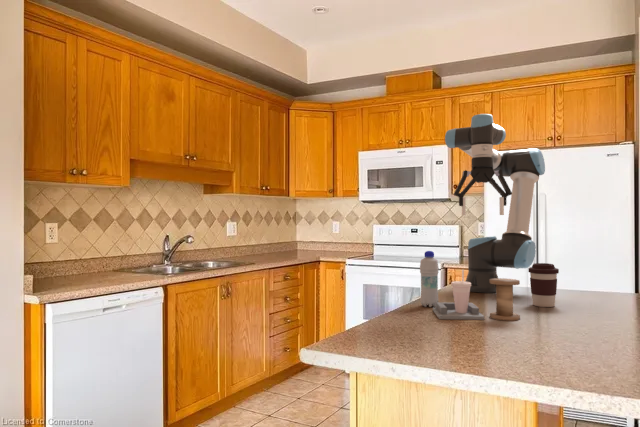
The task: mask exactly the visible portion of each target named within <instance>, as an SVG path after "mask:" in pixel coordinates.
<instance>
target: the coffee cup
mask: <svg viewBox="0 0 640 427" xmlns="http://www.w3.org/2000/svg"><path fill="white" fill-rule="evenodd" d="M527 269H528V273H530V277H529V282H530V284H529V285H530V293H531V298H532V300H531V301H532V305H533V306H535V307H540V308H553V307H555V305H556V295H557V287H558V277H557V276H558V274H559V273H560V272H559V270H560V269H559V268H557V267H555V264H553V263H546V262H545V263H544V262H541V263H539V262H536V263H534V262H533V263H532V264H531V266H530V267H528V268H527Z"/></svg>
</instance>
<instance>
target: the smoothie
mask: <svg viewBox="0 0 640 427" xmlns="http://www.w3.org/2000/svg"><path fill="white" fill-rule="evenodd" d="M464 277H465V269H461V280H456V281H451V283H450V285H451V287H452V294H453V300H454V303H455V310H456V312H457V313H467V311H468V303H470V302H469V301H470V292H471V291H470V286H471V283H470V282H465V281H466V280H465V279H464Z"/></svg>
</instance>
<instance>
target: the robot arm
mask: <svg viewBox="0 0 640 427" xmlns="http://www.w3.org/2000/svg"><path fill="white" fill-rule="evenodd" d="M506 136H507V134H506V130H505V129H504V128H503V127H502V126H501V125H499V124H495V123H494V118H493V115H492V114H490V113H480V114H475V115H473V116H472V117H471V123H470V126H467V127H465V126H464V127H460V128H459V127H458V128H452V129H447V131H446V132H445V136H444V142H445V145H446V147H447V148H449V149H456V148H458V149H459V150H461V151H462V152H464V153H465V154H467V155H468V156H470V157H471V170H466V169H465V170H463V171H462V176H461V179H460V180H459V182H458V184H457V186H456V188H455V189H454V190H455V191H454V192H453V196H455V197H458V206H459V207H461V216H466V214H467V213H466V197H464V196H465V195H466V194H467V193H468V191H469V190H470V189H471V188H472V187H473V185H474V184H476V183H478V184H479V183H485V184H487V183H489V184H491V186H492V187H493V188H494V189H495V190H496V192H497V193H498V194H499V195H500V196H499V216H504V215H505V206H507V204H508V202H507V198H508V197H509V196H510V203H509V212H508V218H507V225H506V231H505V232H503V233H502V235H501V239H498V238H497V236H496V235H493V236H486V237H485V236H484V237H483V236H482V237H476V238H475V237H473V238H470V239H469V240H468V246H467V255H468V257H467V262H468V264H467V265H468V266H467V267H468V269H467V270H468V271H467V275H466V279H465V280H464V281H465V282H470V283H471V286H470V292H471V293H481V294H482V293H487V294H488V293H489V294H490V293H492V294H493V293H496V285H495V284H490V281H489V280H490V279H495V278H499V277H498V273H497V270H498V268H507V269H509V268H511V269H517V270H519V269H528V268H530V267H531V266H532V265H533V264H534V260H535V257H536V248H537V246H536V243H535V241H534V240H532V239H533V238H532V236H531V235H530V234H529V230H530V222H531V214H532V206H533V198H534V190H535V183H537V182H538V181H539V179H540V176H543V175H544V174H545V172H546V165H545V159H544V154H543V152H542V151H541V150H540V149H539V148H527V149H525V148H524V149H516V150H515V149H514V150H513V149H512V150H502V151H499V150H496V149H494V146H498V145H501V144H502V143H504V141H505V139H506ZM494 175H495V176H496V177H497V178H498V180H499V182H500V184H501V186H502V187H501V186H500V185H499V183H498V182H496V180H495V179H494V177H493V176H494ZM469 176H471V180H470V181H469V182H468V183H467V184H466V186H465V187H464V189H463V190H462V188H463V185H464V184H465V181H466V180H467V177H469ZM505 177H506V178H508V177H510V179H511V181H512V189H510V188H511V187H510V186H509V185H508V183H507V181H506V179H505ZM502 188H503V189H502ZM461 190H462V191H461Z"/></svg>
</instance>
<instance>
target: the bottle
mask: <svg viewBox="0 0 640 427" xmlns="http://www.w3.org/2000/svg"><path fill="white" fill-rule="evenodd" d="M434 257H435V253H434V251H432V250H426V251H425V252H424V258H421V260H420V264H419V273H420V305H421V306H422V307H424V308H427V306H428V307H429V308H436V302H439V290H438V289H439V286H438V285H439V284H438V283H439V278H438V277H439V276H438V275H439V263H438V259H436V258H434Z"/></svg>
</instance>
